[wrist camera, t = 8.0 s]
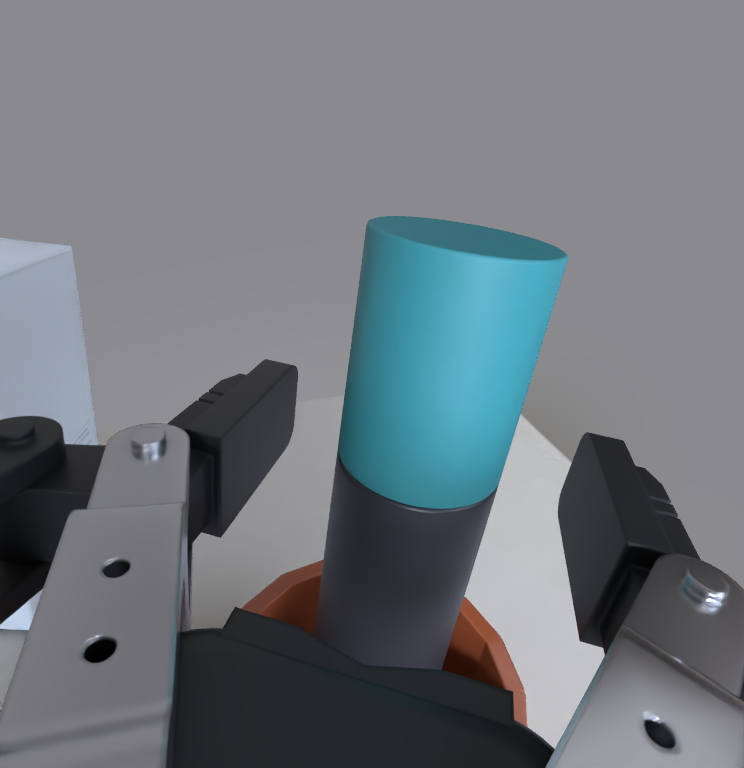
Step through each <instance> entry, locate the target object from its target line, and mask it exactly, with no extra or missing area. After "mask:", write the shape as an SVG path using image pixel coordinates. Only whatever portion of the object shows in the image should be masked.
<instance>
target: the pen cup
mask: <svg viewBox="0 0 744 768" xmlns="http://www.w3.org/2000/svg"><path fill="white" fill-rule="evenodd" d="M322 568H323V560H321V561H318V562H316V563H313V564H310V565H307V566H304V567H301V568H299V569H296V570H293V571H290V572H287V573H285V574H283V575H281V576H280V577H278V578H277V579H276V580H275V581H273V582H272V583H271V584H270V585H268V586H267V587H266V588H265V589H264V590H262V591H261V592H260V593H259V594H257V595H256V596H255V597H254V598H253V599H251V600H250V601H249V602H248V603H246V604H245V605H244V607H243V608H242V609H243V610H247V611H250V612H253V613H257V614H260V615H263V616H266V617H270V618H273V619H276V620H280V621H283V622H286V623H289V624H293V625H296V626H299V627H301V628H303V629H304V630H306V631H308V632H309V633H311V634H313V635H314V630H315V622H316V614H317V607H318V599H319V591H320V583H321V576H322ZM441 670H444V671H447V672H450V673H454V674H457V675H460V676H464V677H467V678H470V679H474V680H477V681H480V682H483V683H487V684H490V685H493V686H497V687H500V688H503V689H506V690H510V691H513V698H514V719H515V720H517V721H518V722H520V723H522V724H523V725H525V726H526V727H527V713H526V695H525V693H524V688H523V686H522V683H521V681H520V679H519V676H518V674H517V672H516V670H515V667H514V665H513V663H512V660H511V658H510V656H509V654H508V651H507V649H506V647H505V644H504V642H503V640H502V638H501V637H500V635H499V634H498V633H497V632H496V631H495V630H494V629H493V627H492V626H491V625H490V624H489V623H488V622H487V621H486V619H485V618H484V617H483V616H482V615H481V614H480V613H479V612H478V610H477V609H476V608H475V607H474V606H473V605H472V604H471V603H470V601H469V600H468V599H467V598H465V597H464V598H463V601H462V605H461V608H460V611H459V614H458V618H457V621H456V624H455V627H454V631H453V634H452V637H451V640H450V644H449V647H448V650H447V653H446V657H445V660H444V663H443V666H442V669H441Z"/></svg>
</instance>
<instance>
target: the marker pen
mask: <svg viewBox="0 0 744 768" xmlns="http://www.w3.org/2000/svg"><path fill="white" fill-rule="evenodd" d="M567 261H568V256H567V254H566V253H565V252H564V251H562V250H560V249H559V248H557V247H555V246H553V245H550V244H548V243H545V242H542V241H539V240H536V239H533V238H529V237H526V236H522V235H518V234H515V233H510V232H506V231H502V230H497V229H493V228H488V227H483V226H478V225H472V224H466V223H459V222H453V221H447V220H438V219H430V218H420V217H405V216H387V217H378V218H374V219H371V220H369V221H368V223H367V226H366V234H365V242H364V250H363V258H362V266H361V273H360V281H359V289H358V297H357V304H356V312H355V320H354V328H353V335H352V343H351V351H350V358H349V366H348V375H347V382H346V390H345V397H344V405H343V413H342V420H341V428H340V436H339V444H338V452H337V459H336V467H335V475H334V483H333V490H332V498H331V506H330V514H329V521H328V529H327V537H326V545H325V552H324V560H323V568H322V576H321V583H320V591H319V599H318V607H317V614H316V622H315V630H314V636H316V637H318V638H319V639H321V640H323V641H324V642H326V643H328V644H329V645H331V646H333V647H334V648H336V649H338V650H339V651H341V652H343V653H344V654H346V655H348V656H349V657H351V658H353V659H354V660H356V661H358V662H360V663H362V664H365V665H370V666H386V667H404V668H422V669H440V670H441V669H442V666H443V663H444V660H445V657H446V653H447V650H448V647H449V644H450V640H451V637H452V634H453V631H454V627H455V624H456V621H457V618H458V614H459V611H460V608H461V605H462V601H463V598H464V595H465V592H466V588H467V585H468V582H469V579H470V575H471V572H472V569H473V566H474V562H475V559H476V556H477V553H478V549H479V546H480V543H481V540H482V537H483V533H484V530H485V527H486V524H487V520H488V517H489V514H490V511H491V507H492V504H493V501H494V498H495V494H496V491H497V488H498V484H499V481H500V478H501V475H502V472H503V468H504V465H505V462H506V459H507V455H508V452H509V449H510V446H511V442H512V439H513V436H514V433H515V429H516V426H517V423H518V420H519V416H520V413H521V409H522V407H523V404H524V400H525V397H526V394H527V391H528V387H529V384H530V381H531V377H532V374H533V371H534V368H535V364H536V361H537V358H538V355H539V352H540V348H541V345H542V342H543V338H544V335H545V332H546V329H547V326H548V322H549V319H550V316H551V313H552V309H553V306H554V303H555V300H556V296H557V293H558V290H559V287H560V283H561V280H562V277H563V274H564V271H565V267H566V264H567Z"/></svg>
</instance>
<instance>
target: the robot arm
mask: <svg viewBox="0 0 744 768" xmlns="http://www.w3.org/2000/svg"><path fill="white" fill-rule="evenodd" d="M297 381H298V371H297V367H296V366H293V365H289V364H285V363H280V362H276V361H271V360H267V359H266V360H264V361H262V362H261V363H260V364H259V365H258V366H257V367H255V368H254V369H253V370H252V371H251V372H250V373H248V374H247V375H244V374H238V375H235V376H232V377H229V378H227V379H224V380H221V381H220V382H219V383H218V384H216V385H215V386H214V387H213V388H211V389H210V390H209V393H208V392H207V393H205V394H204V395H203V396H201V397H200V398H199V400H198V401H195V402H194V403H193V404H191V405H190V406H189V407H188V408H186V409H185V410H184V411H183V412H181V413H180V414H179V415H178V416H176V417H175V418H174V419H173V420H171V421H170V422H169V423H168V424H161V423H149V424H141V425H136V426H132V427H129V428H126V429H124V430H122V431H120V432H118V433H116V434H115V435H113V436H112V437H111V438H110V439H109V441H108V442H107V444H106V446H101V445H78V444H65V441H64V435H63V429H62V426H61V425H60V424H59V423H58V422H57V421H55V420H53V419H50V418H47V417H41V416H18V417H11V418H6V419H2V420H0V625H1V624H2V623H3V622H4V621H5V620H7V619H8V618H9V617H10V616H11V615H12V614H14V613H15V612H16V611H17V610H18V609H20V608H21V607H22V606H23V605H24V604H25V603H27V602H28V601H29V600H30V599H31V598H32V597H34V596H35V595H36V594H37V593H38V592H40V591H41V590H42V589H43V591H42V593H41V596H40V599H39V602H38V605H37V608H36V611H35V614H34V616H33V619H32V622H31V625H30V628H29V631H28V634H27V637H26V639H25V642H24V645H23V648H22V651H21V654H20V657H19V660H18V662H17V665H16V668H15V671H14V674H13V677H12V680H11V683H10V686H9V688H8V691H7V694H6V697H5V700H4V703H3V706H2V709H1V711H0V768H744V589H743V588H742V587H741V586H740V585H739V584H738V583H737V582H736V581H734V580H733V579H732V578H731V577H729V576H728V575H727V574H725V573H724V572H722V571H721V570H719V569H718V568H715V567H714V566H712V565H710V564H708V563H706V562H704V561H701V559H700V558H699V556H698V554H697V552H696V550H695V548H694V546H693V544H692V542H691V540H690V538H689V536H688V534H687V532H686V530H685V528H684V526H683V525H682V522H681V520H680V519H677V517H678V515H677V513H676V511H675V509H674V507H673V505H671V504H670V502H671V501H670V499H669V497H668V495H667V493H666V491H665V489H664V487H663V485H662V484H661V483H660V482H658V480H657V479H656V478H655V477H653V476H652V475H651V474H650V473H649V472H648V471H647V470H646V469H645V468H642V467H638V466H635V464H634V462H633V460H632V458H631V456H630V453H629V451H628V449H627V447H626V445H625V443H624V441H623V440H619V439H614V438H610V437H605V436H601V435H597V434H592V433H588V432H587V433H585V434H584V435H583V437H582V439H581V441H580V443H579V446H578V448H577V451H576V453H575V456H574V459H573V461H572V464H571V467H570V469H569V472H568V475H567V477H566V480H565V482H564V485H563V488H562V491H561V494H560V499H559V505H558V519H559V525H560V530H561V536H562V542H563V548H564V553H565V559H566V565H567V570H568V576H569V582H570V588H571V593H572V599H573V605H574V611H575V616H576V622H577V628H578V633H579V639H580V641H581V642H585V643H588V644H592V645H595V646H599V647H602V648H603V649H604V653H605V657H604V659H603V661H602V662H601V664H600V666H599V668H598V670H597V672H596V674H595V676H594V677H593V679H592V681H591V683H590V685H589V687H588V689H587V691H586V692H585V694H584V696H583V698H582V700H581V702H580V704H579V706H578V707H577V709H576V711H575V713H574V715H573V717H572V719H571V720H570V722H569V724H568V726H567V728H566V730H565V732H564V734H563V735H562V737H561V739H560V741H559V743H558V745H557V747H556V749H554V748H553V747H552V746H551V745H549V744H548V743H547V742H546V741H545V740H544V739H543V738H541V737H540V736H539V735H537V734H536V733H535V732H533V731H532V730H531V729H529V728H528V727H526V726H525V725H523V724H522V723H520V722H518V721H517V720H515V719H514V698H513V691H510V690H506V689H503V688H500V687H497V686H493V685H490V684H487V683H483V682H480V681H477V680H474V679H470V678H467V677H464V676H460V675H457V674H454V673H450V672H447V671H444V670H440V669H422V668H404V667H386V666H370V665H365V664H362V663H360V662H358V661H356V660H354V659H353V658H351V657H349V656H348V655H346V654H344V653H343V652H341V651H339V650H338V649H336V648H334V647H333V646H331V645H329V644H328V643H326V642H324V641H323V640H321V639H319V638H318V637H316V636H314V635H313V634H311V633H309V632H308V631H306V630H304V629H303V628H301V627H299V626H296V625H293V624H289V623H286V622H283V621H280V620H276V619H273V618H270V617H266V616H263V615H260V614H257V613H253V612H250V611H247V610H243V609H240V608H237V607H235V608H234V610H233V612H232V613H231V615H230V617H229V618H228V620H227V622H226V624H225V625H224V627H223V628H207V629H195V630H191V601H192V570H193V542H194V540H195V539H196V538H197V537H198V535H199V534H200V533H201V532H203V533H206V534H210V535H213V536H217V537H220V538H221V537H222V535H223V534H224V533H225V531H226V530H227V528H228V527H229V526H230V524H231V523H232V522H233V520H234V519H235V517H236V516H237V515H238V513H239V512H240V511H241V509H242V508H243V507H244V505H245V504H246V502H247V501H248V500H249V498H250V497H251V496H252V494H253V493H254V491H255V490H256V489H257V487H258V486H259V485H260V483H261V482H262V480H263V479H264V478H265V476H266V475H267V474H268V472H269V471H270V469H271V468H272V467H273V465H274V464H275V463H276V461H277V460H278V459H279V457H280V456H281V454H282V453H283V452H284V450H285V449H286V447H287V446H288V444H289V441H290V439H291V436H292V432H293V427H294V418H295V406H296V394H297V393H296V392H297Z"/></svg>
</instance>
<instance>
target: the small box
mask: <svg viewBox="0 0 744 768" xmlns="http://www.w3.org/2000/svg"><path fill="white" fill-rule="evenodd" d="M18 416H41V417H47V418H50V419H53V420H55V421H57V422H58V423H59V424H60V425H61V426H62V429H63V435H64V441H65V444H78V445H98V437H97V429H96V422H95V416H94V408H93V401H92V395H91V386H90V379H89V371H88V363H87V355H86V348H85V339H84V333H83V326H82V318H81V311H80V303H79V295H78V288H77V282H76V273H75V267H74V260H73V253H72V247H70V246H63V245H56V244H48V243H39V242H31V241H23V240H14V239H6V238H0V420H2V419H6V418H11V417H18ZM42 591H43V589H42V590H41V591H40V592H38V593H37V594H36V595H35V596H34V597H32V598H31V599H30V600H29V601H28V602H27V603H25V604H24V605H23V606H22V607H21V608H20V609H18V610H17V611H16V612H15V613H14V614H12V615H11V616H10V617H9V618H8V619H7V620H5V621H4V622H3V623H2V624H1V625H0V629H14V630H29V628H30V625H31V622H32V619H33V616H34V614H35V611H36V608H37V605H38V602H39V599H40V596H41V593H42Z"/></svg>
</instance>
